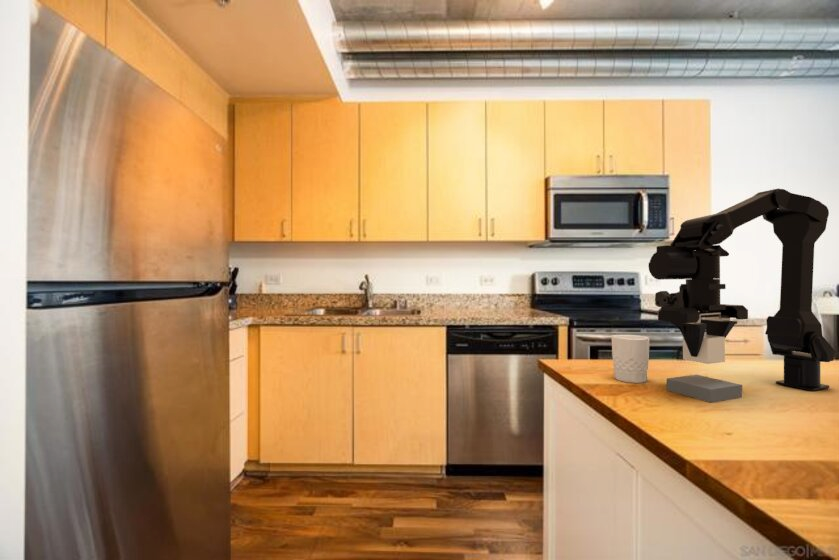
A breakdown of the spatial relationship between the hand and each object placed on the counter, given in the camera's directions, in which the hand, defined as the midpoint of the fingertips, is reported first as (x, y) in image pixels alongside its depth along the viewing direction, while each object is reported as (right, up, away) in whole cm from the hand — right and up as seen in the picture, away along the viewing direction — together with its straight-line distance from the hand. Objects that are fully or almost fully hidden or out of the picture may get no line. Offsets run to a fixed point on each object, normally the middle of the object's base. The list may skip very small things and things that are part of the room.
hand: (703, 355), depth 81 cm
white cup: (-9, -8, +12) cm, 17 cm away
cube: (0, -1, 0) cm, 1 cm away
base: (0, -8, 0) cm, 8 cm away
